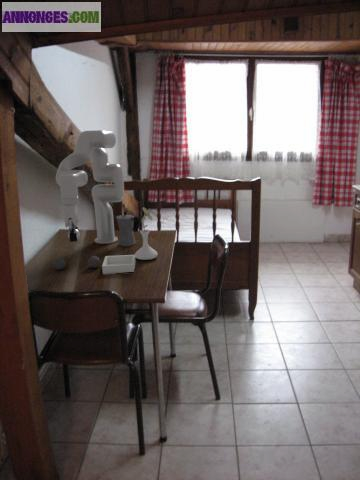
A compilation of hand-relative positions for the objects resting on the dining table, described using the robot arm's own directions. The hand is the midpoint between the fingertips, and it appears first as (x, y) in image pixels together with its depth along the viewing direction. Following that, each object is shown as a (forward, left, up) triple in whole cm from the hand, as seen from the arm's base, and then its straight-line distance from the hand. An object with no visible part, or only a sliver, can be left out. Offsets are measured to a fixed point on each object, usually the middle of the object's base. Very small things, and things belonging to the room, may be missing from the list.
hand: (74, 238), depth 219 cm
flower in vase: (-10, +32, -14) cm, 37 cm away
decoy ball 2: (0, +8, -11) cm, 14 cm away
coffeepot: (-35, +22, -14) cm, 43 cm away
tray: (+3, +20, -14) cm, 25 cm away
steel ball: (0, 0, +2) cm, 2 cm away
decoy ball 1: (0, -8, -11) cm, 14 cm away
